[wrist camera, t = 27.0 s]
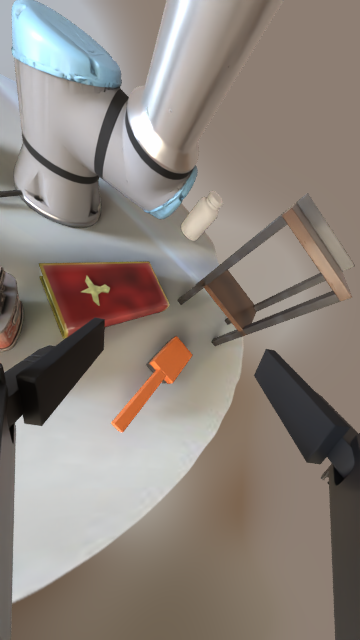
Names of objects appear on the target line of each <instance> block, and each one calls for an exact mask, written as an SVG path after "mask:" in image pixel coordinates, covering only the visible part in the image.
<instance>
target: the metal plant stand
mask: <svg viewBox="0 0 360 640" xmlns="http://www.w3.org/2000/svg"><path fill="white" fill-rule="evenodd" d="M287 224H288V225H289V227H290V228H291V230H292V231H293V233H294V234H295V236H296V237H297V239H298V240H299V242H300V243H301V244H302V246H303V248H304V249H305V250H306V252H307V253H308V255H309V256H310V258H311V259H312V261H313V262H314V263H315V265H316V266H317V268H318V269H319V271H320V272H321V273H319V274H317V275H315V276H313V277H311V278H309V279H307V280H305V281H303V282H301V283H298V284H296V285H294V286H293V287H290V288H288V289H286V290H284V291H282V292H280V293H278V294H276V295H274V296H272V297H270V298H268V299H266V300H264V301H262V302H260V303H257V304H256V305H254V304H253V302H252V301H251V300H250V298H249V297H248V296H247V294H246V293H245V292H244V291H243V289H242V288H241V287H240V285H239V284H238V283H237V281H236V280H235V279H234V277H233V276H232V275H231V274H230V272H229V271H228V269H229V268H230V267H232V266H233V265H234V264H236V263H237V262H238V261H239V260H241V259H242V258H243V257H245V256H246V255H247V254H249V253H250V252H251V251H253V250H254V249H255V248H257V247H258V246H259V245H261V244H262V243H263V242H265V241H266V240H267V239H268V238H270V237H271V236H272V235H274V234H275V233H276V232H278V231H279V230H280V229H282V228H283V227H284V226H286V225H287ZM354 266H355V265H354V263H353V262H352V260H351V258H350V257H349V255H348V254H347V252H346V251H345V249H344V248H343V246H342V245H341V243H340V242H339V240H338V239H337V237H336V235H335V234H334V232H333V231H332V229H331V228H330V226H329V225H328V223H327V222H326V220H325V219H324V217H323V216H322V214H321V213H320V211H319V210H318V208H317V206H316V205H315V203H314V202H313V200H312V199H311V197H310V196H309V194H308V193H307V194H306V195H305V196H303V197H302V198H301V199H300V200H299V201H297V202H296V203H295V204H294V205H293V206H291V207H290V208H289V209H288V210H286V211H285V212H284V213H283V214H282V215H281V216H279V217H278V218H277V219H275V220H274V221H273V222H272V223H271V224H269V225H268V226H267V227H266V228H265V229H263V230H262V231H261V232H260V233H258V234H257V235H256V236H255V237H253V238H252V239H251V240H250V241H249V242H247V243H246V244H245V245H244V246H243V247H241V248H240V249H239V250H238V251H236V252H235V253H234V254H233V255H231V256H230V257H229V258H228V259H227V260H225V261H224V262H223V263H222V264H220V265H219V266H218V267H217V268H216V269H214V270H213V271H212V272H211V273H209V274H208V275H207V276H206V277H205V278H203V279H202V280H201V281H200V282H198V283H197V284H196V286H194V287H193V288H192V289H191V290H189V291H188V292H187V293H186V294H184V295H183V296H182V297H181V298H180V299H178V302H179V303H180V304H183V303H184V302H185V301H187V300H188V299H189V298H191V297H192V296H193V295H195V294H196V293H197V292H199V291H200V290H201V289H203V288H205V290H206V291H207V292H208V293H209V295H210V296H211V297H212V298H213V300H214V301H215V302H216V304H217V305H218V306H219V307H220V309H221V310H222V311H223V312H224V314H225V315H226V316H227V319H226V320H225V322H226V323H227V324H230V323H232V324H233V325H234V326H235V328H236V329H237V330H234V331H232V332H229V333H227V334H224V335H222V336H219V337H217V338H214V339H213V341H212V343H213V344H214V346H217V345H219V344H222V343H225V342H228V341H231V340H234V339H236V338H239V337H242V336H245V335H248V334H250V333H253V332H256V331H259V330H262V329H264V328H267V327H270V326H273V325H276V324H278V323H281V322H284V321H287V320H290V319H293V318H295V317H298V316H301V315H303V314H306V313H309V312H312V311H315V310H318V309H321V308H323V307H326V306H329V305H332V304H335V303H337V302H340V301H343V300H346V299H348V298H351V297H352V296H351V293H350V290H349V288H348V285H347V283H346V280H345V277H344V275H343V273H342V272H343V271H345V270H347V269H350V268H352V267H354ZM324 281H327V282H328V284H329V286H330V287H331V288H332V290H333V291H331V292H329V293H326V294H324V295H321V296H319V297H316V298H314V299H311V300H309V301H306V302H304V303H302V304H299V305H296V306H294V307H291V308H289V309H286V310H284V311H282V312H279V313H276V314H274V315H272V316H270V317H267V318H265V319H262V320H259V321H257V322H254V323H252V321H253V318H254V316H255V314H256V312H257V311H259V310H261V309H263V308H266V307H268V306H270V305H272V304H275V303H277V302H279V301H281V300H284V299H286V298H288V297H290V296H292V295H295V294H297V293H299V292H301V291H303V290H306V289H308V288H310V287H312V286H315V285H317V284H319V283H321V282H324ZM251 323H252V324H251Z"/></svg>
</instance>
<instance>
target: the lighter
mask: <svg viewBox="0 0 360 640" xmlns="http://www.w3.org/2000/svg"><path fill="white" fill-rule="evenodd" d="M23 316H24V315H23V305H22V302H21V301H20V300H19V297H18V293H17V282H16V279H15V277H14V276H13V275H11V274H9V273H6V272H5V271H4V269H3V267H1V266H0V352H2V351H7V350H10V349H11V348H13V347H14V346H15V344H16V342H17V340H18V338H19V335H20V332H21V329H22V326H23Z"/></svg>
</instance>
